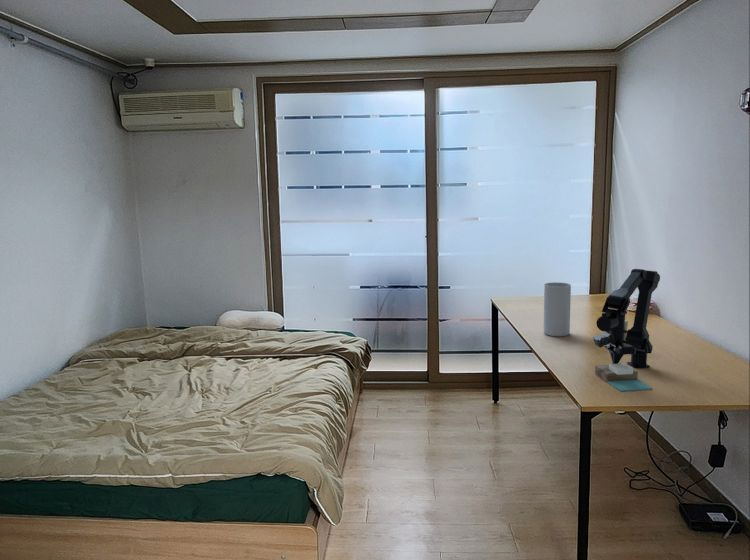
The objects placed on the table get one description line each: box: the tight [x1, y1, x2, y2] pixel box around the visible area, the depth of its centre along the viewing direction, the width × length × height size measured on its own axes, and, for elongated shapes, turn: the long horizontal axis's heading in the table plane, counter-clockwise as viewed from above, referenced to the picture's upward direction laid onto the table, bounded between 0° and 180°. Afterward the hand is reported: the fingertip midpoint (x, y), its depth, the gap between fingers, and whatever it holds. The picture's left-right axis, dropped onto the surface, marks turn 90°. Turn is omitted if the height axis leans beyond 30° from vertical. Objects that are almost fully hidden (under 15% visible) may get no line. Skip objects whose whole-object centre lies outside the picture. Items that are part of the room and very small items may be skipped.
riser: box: [594, 364, 639, 383], centre depth 228 cm, size 10×12×4 cm
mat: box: [607, 379, 653, 392], centre depth 218 cm, size 10×12×1 cm
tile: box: [608, 362, 634, 375], centre depth 224 cm, size 7×6×2 cm
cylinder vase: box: [543, 281, 572, 338], centre depth 293 cm, size 12×12×25 cm
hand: (615, 365), depth 229 cm, fingers closed
